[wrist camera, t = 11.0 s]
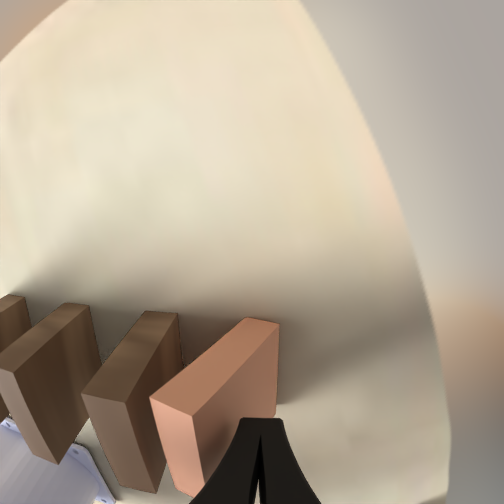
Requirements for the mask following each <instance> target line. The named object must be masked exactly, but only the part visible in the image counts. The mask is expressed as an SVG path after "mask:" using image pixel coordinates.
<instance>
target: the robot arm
mask: <svg viewBox="0 0 504 504" xmlns="http://www.w3.org/2000/svg"><path fill="white" fill-rule="evenodd" d="M258 479H259V495H260V504H321V502H320V501H319V499H318V498H317V496H316V495H315V493H314V492H313V490H312V489H311V487H310V485H309V484H308V482H307V480H306V478H305V477H304V475H303V473H302V471H301V469H300V467H299V465H298V463H297V461H296V458H295V456H294V454H293V452H292V449H291V447H290V444H289V441H288V439H287V436H286V432H285V429H284V424H283V420H281V419H280V418H252V417H243V418H241V419H240V420H239V424H238V427H237V430H236V432H235V435H234V437H233V439H232V441H231V443H230V446H229V448H228V449H227V451H226V453H225V455H224V456H223V458H222V460H221V462H220V463H219V465H218V467H217V468H216V470H215V471H214V472H213V474H212V475H211V477H210V478H209V480H208V481H207V483H206V484H205V485H204V486H203V488H202V489H201V490H200V492H199V493H198V494H197V495H196V496H195V497H194V499H193V500H192V501H191V502H190V503H189V504H254V503H255V497H256V491H257V485H258ZM95 500H97V501H100V502H103V503H106V504H115V503H116V501H115V499H114V497H113V496H112V494H111V492H110V490H109V489H108V487H107V485H106V483H105V482H104V480H103V478H102V476H101V474H100V472H99V470H98V469H97V467H96V465H95V463H94V461H93V459H92V457H91V455H90V453H89V451H88V450H87V449H86V448H85V447H83V446H80V445H77V444H74V443H72V445H71V446H70V448H69V449H68V451H67V452H66V454H65V456H64V457H63V459H62V460H61V462H60V464H59V465H57V464H54V463H52V462H49V461H47V460H44V459H42V458H40V457H37V456H35V455H33V454H32V452H31V450H30V449H29V447H28V445H27V444H26V442H25V440H24V438H23V437H22V435H21V433H20V431H19V429H18V428H17V426H16V424H15V422H14V420H12V419H10V418H7V417H6V418H5V419H4V421H3V422H2V423H1V424H0V504H93V503H94V501H95Z"/></svg>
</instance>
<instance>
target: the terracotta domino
mask: <svg viewBox="0 0 504 504" xmlns="http://www.w3.org/2000/svg"><path fill="white" fill-rule="evenodd" d="M278 350H279V324H277V323H272V322H268V321H263V320H258V319H253V318H248V317H245V318H244V319H243V320H242V321H241V322H239V323H238V324H237V325H236V326H235V327H234V328H232V329H231V330H230V331H229V332H228V333H227V334H225V335H224V336H223V337H222V338H221V339H220V340H218V341H217V342H216V343H215V344H214V345H212V346H211V347H210V348H209V349H208V350H206V351H205V352H204V353H203V354H202V355H200V356H199V357H198V358H197V359H196V360H194V361H193V362H192V363H191V364H190V365H188V366H187V367H186V368H185V369H183V370H182V371H181V372H180V373H178V374H177V375H176V376H175V377H174V378H172V379H171V380H170V381H169V382H167V383H166V384H165V385H164V386H162V387H161V388H160V389H159V390H157V391H156V392H155V393H154V394H152V395H151V396H150V397H149V398H150V402H151V406H152V410H153V414H154V418H155V422H156V426H157V429H158V433H159V437H160V440H161V444H162V447H163V450H164V454H165V457H166V460H167V463H168V467H169V470H170V473H171V476H172V479H173V482H174V485H175V488H176V489H177V490H179V491H181V492H183V493H185V494H187V495H189V496H191V497H193V498H194V497H195V496H196V495H197V494H198V493H199V492H200V490H201V489H202V488H203V486H204V485H205V484H206V483H207V481H208V480H209V478H210V477H211V475H212V474H213V472H214V471H215V470H216V468H217V467H218V465H219V463H220V462H221V460H222V458H223V456H224V455H225V453H226V451H227V449H228V448H229V446H230V443H231V441H232V439H233V437H234V435H235V432H236V430H237V427H238V424H239V420H240V419H241V418H243V417H252V418H273V417H274V415H275V414H276V396H277V374H278Z"/></svg>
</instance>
